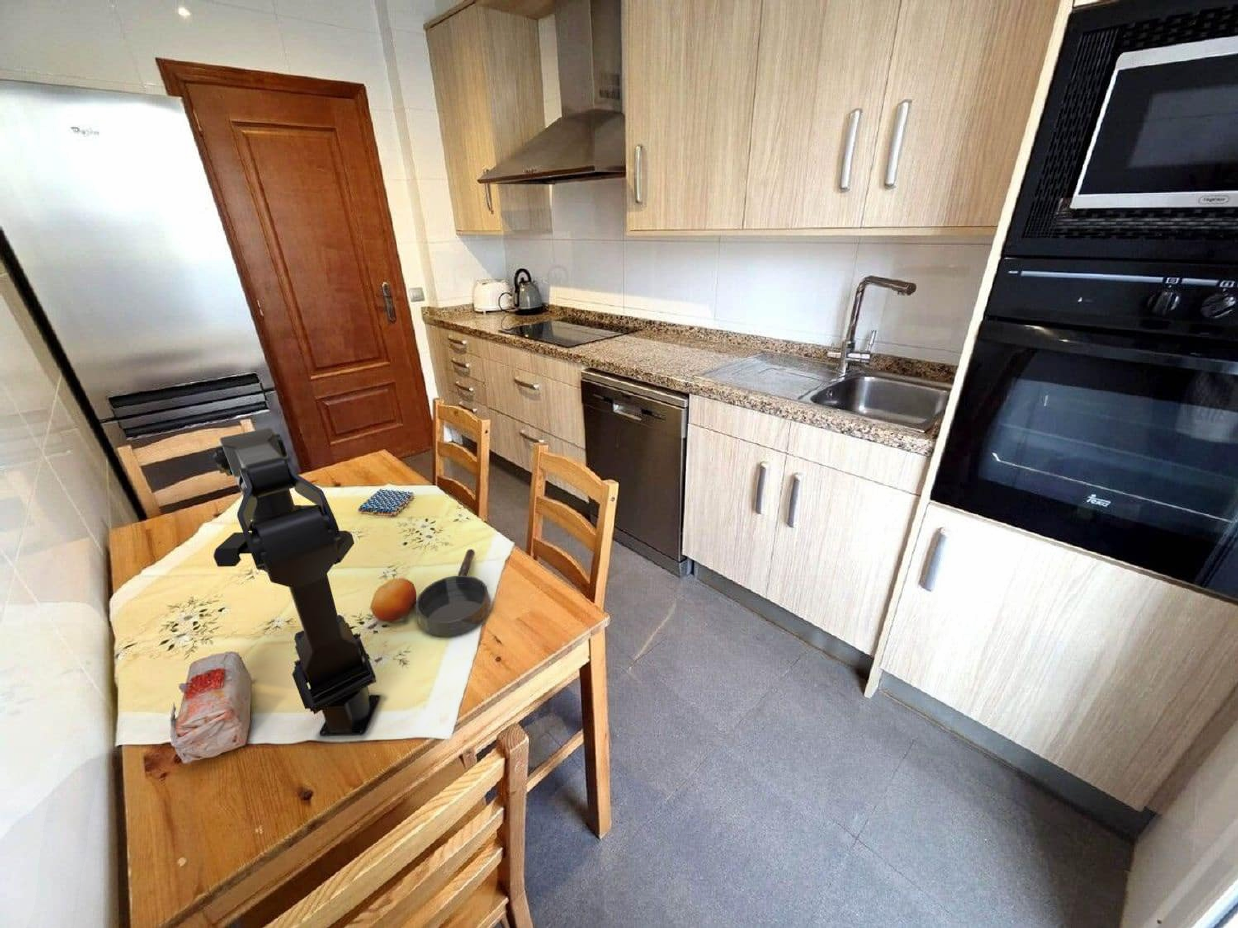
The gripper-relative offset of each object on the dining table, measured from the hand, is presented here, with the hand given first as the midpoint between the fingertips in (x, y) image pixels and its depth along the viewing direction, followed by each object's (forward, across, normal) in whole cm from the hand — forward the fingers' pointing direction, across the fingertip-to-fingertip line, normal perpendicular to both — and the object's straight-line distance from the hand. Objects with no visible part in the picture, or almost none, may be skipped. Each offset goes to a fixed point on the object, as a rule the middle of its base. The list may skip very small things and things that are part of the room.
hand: (300, 589), depth 83 cm
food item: (+12, +6, +16) cm, 21 cm away
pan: (+12, -22, -7) cm, 26 cm away
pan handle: (+10, -22, -18) cm, 30 cm away
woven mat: (+12, +5, -47) cm, 49 cm away
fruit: (+12, -11, -7) cm, 18 cm away
